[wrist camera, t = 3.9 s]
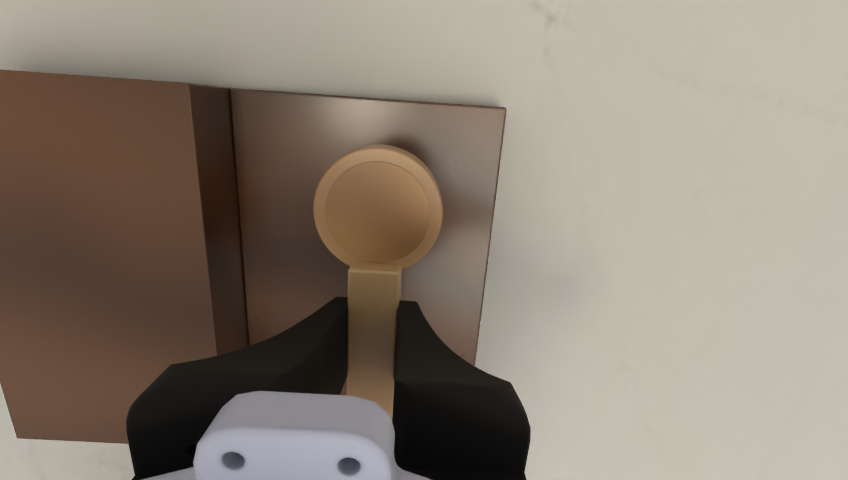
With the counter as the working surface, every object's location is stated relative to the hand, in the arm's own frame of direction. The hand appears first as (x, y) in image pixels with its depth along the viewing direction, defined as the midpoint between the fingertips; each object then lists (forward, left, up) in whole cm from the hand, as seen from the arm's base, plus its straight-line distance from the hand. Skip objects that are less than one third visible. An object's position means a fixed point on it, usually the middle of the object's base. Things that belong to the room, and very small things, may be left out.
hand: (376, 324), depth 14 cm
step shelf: (0, +5, -6) cm, 8 cm away
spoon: (0, 0, -1) cm, 1 cm away
